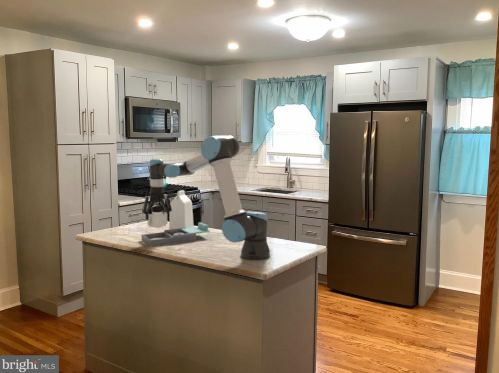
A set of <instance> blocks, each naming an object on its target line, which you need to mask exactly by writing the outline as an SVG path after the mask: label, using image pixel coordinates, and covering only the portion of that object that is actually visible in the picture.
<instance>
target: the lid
mask: <svg viewBox="0 0 499 373" xmlns="http://www.w3.org/2000/svg"><path fill="white" fill-rule="evenodd" d="M182 231H184V232H186V233H196V235H197V234H201V233H202V234H203V233H204V234H205V233H210V229H209V225H208V224H205V223H203V222H201V221H200V222H197V226H195V227H194V228H185V229H182Z"/></svg>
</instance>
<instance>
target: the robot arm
mask: <svg viewBox="0 0 499 373" xmlns="http://www.w3.org/2000/svg"><path fill="white" fill-rule="evenodd" d="M200 146H201V147H200V154H199V155H195V156H194V157H191V158H190V159H188V160H185V161H183V162H174V163H173V162H172V163H164V160H163V159H162V158H152V159H150V160H149V185H150V187H149V190H150V192H149V195H148V196H147V195H144V204H143V209H142V214H145V220H146V221H147V226H148V227H149V226H150V212H151V211H152V207H153V206H154V204H155V203H160V204H161V206H162V207H163V210H164V211H165V212H163V214H166V225H167V224H168V218H169V216H170V211H172V209H171V205H170V203H171V202H170V195H169V194H165V192H164V188H165V187H164V178H170V179H172V178H173V179H174V178H177V177H182V176H191V175H194V174H195V173H196V172H198V171H199V170H201V169H204V168H206V167H208V166H210V167H212V168H213V171H214V174H215V178H216V182H217V186H218V190H219V194H220V198H221V200H222V205H223V208H224V213H225V214H224V216H223V219H224V220H223V221H224V222H223V223H222V226H221V232H222V234H223V236H224V238H225V239H226V240H227V241H229V242H230V243H240V242H241V243H242V242H243V241H244V242H243V243H242V247H241V251H240V256H241V257H242V258H243V259H248V260H265V259H268V258H269V257H271V251H270V248H269V245H268V240H267V239H268V216H267V214H266V213H265V212H259V211H249V210H248V211H246V210H245V209H243V206H242V202H241V198H240V195H239V191H238V189H237V188H238V187H237V185H236V181H235V176H234V173H233V170H232V166H231V162H232V160H233V158H234V157H236V156H237V155H238V153H239V152H240V147H241V146H240V142H239V141H238V139H237V138H236V137H234V136H232V135H210V136H207V137H205V138H204V140H203V141H202V144H201V145H200ZM164 199H165V201H164ZM149 200H150V202H149ZM165 203H166V204H165Z"/></svg>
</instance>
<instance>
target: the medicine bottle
mask: <svg viewBox="0 0 499 373" xmlns="http://www.w3.org/2000/svg"><path fill="white" fill-rule="evenodd" d="M163 210H164V208H163V206H162V205H153V206H152V208H151V214H150V213H149V214H150V226H148V227H149V228H154V229H155V228H156V229H159V228H163V227H166V226H167V224H166V214H164V212H163Z"/></svg>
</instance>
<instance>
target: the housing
mask: <svg viewBox="0 0 499 373" xmlns="http://www.w3.org/2000/svg"><path fill="white" fill-rule="evenodd" d="M182 229H185V228H178V229H169V228H168V229H164V230H163V231H162V232H152V233H145V234H141V236H140V237H141V241H142V242H143V243H144V242H145V244H146V245H147V246H149V247H150V248H151V246H152V247H157V246H158V245H159V246H166V244H167V245H172V244H173V245H175V244H181V243H188V242H194V241H195V242H196V241H197V234H196V233H186V232H184V231H182ZM174 243H175V244H174Z"/></svg>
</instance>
